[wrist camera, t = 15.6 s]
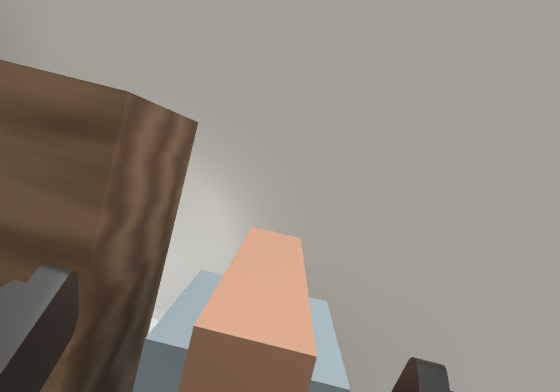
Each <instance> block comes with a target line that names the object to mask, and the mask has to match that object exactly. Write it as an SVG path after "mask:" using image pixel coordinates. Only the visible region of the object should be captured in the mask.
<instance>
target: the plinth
mask: <svg viewBox="0 0 560 392" xmlns="http://www.w3.org/2000/svg"><path fill="white" fill-rule="evenodd" d="M197 125H198V122H196V121H194V120H191V119H189V118H187V117H184V116H182V115H180V114H178V113H175V112H173V111H171V110H169V109H166V108H164V107H162V106H159V105H157V104H155V103H153V102H150V101H148V100H146V99H143V98H141V97H139V96H136V95H134V94H132V93H130V92H127V91H123V90H119V89H115V88H111V87H107V86H103V85H99V84H95V83H91V82H87V81H83V80H79V79H75V78H71V77H67V76H63V75H59V74H55V73H51V72H47V71H43V70H39V69H35V68H31V67H27V66H23V65H19V64H15V63H11V62H7V61H3V60H0V288H1V287H3V286H4V285H6V284H8V283H9V282H11V281H13V280H17V281H21V282H25V283H27V282H28V280H29V279H30V278H31V277H32V275H33V274H34V273H35V271H36V270H37V269H38V268H39V267H40V266H41V265H42V264H45V263H46V264H50V265H54V266H58V267H62V268H66V269H70V270H74V271H76V272H77V273H78V321H77V325H76V328H75V331H74V334H73V336H72V338H71V340H70V342H69V344H68V345H67V347H66V349H65V350H64V352H63V354H62V355H61V357H60V359H59V360H58V362H57V364H56V365H55V367H54V369H53V370H52V372H51V374H50V375H49V377H48V379H47V380H46V382H45V384H44V385H43V387H42V389H41V390H40V392H132V391H133V387H134V383H135V379H136V375H137V370H138V366H139V362H140V358H141V353H142V349H143V345H144V341H145V338H146V337H147V335H148V332H149V328H150V323H151V319H152V315H153V311H154V307H155V302H156V298H157V294H158V289H159V285H160V281H161V277H162V273H163V269H164V264H165V259H166V256H167V252H168V248H169V243H170V239H171V235H172V230H173V226H174V222H175V218H176V214H177V209H178V205H179V201H180V197H181V193H182V188H183V184H184V180H185V176H186V172H187V167H188V162H189V159H190V155H191V150H192V146H193V142H194V138H195V133H196V129H197Z"/></svg>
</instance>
